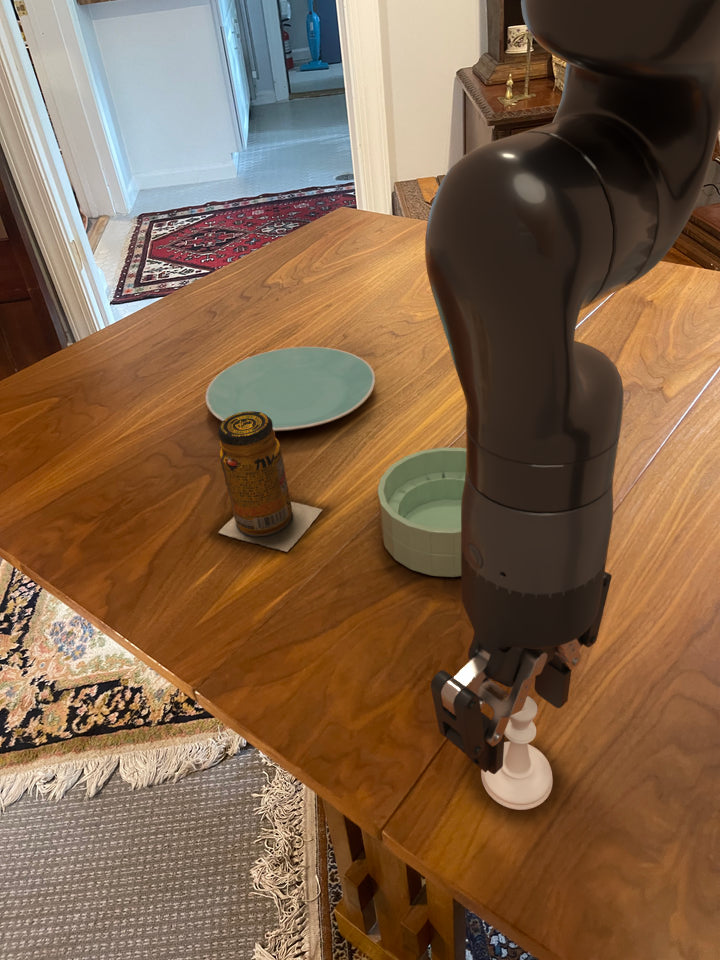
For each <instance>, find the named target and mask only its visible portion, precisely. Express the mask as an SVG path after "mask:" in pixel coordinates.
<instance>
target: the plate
mask: <svg viewBox="0 0 720 960" xmlns="http://www.w3.org/2000/svg"><path fill="white" fill-rule="evenodd" d="M375 386H376V373H375V371H374V369H373V367H372V366H371V365H370V364H369V363H368V362H367V361H366V360H364V359H363V358H361V356H358V355H356V354H353V353H350V352H348V351H344V350H341V349H336V348H332V347H323V346H293V347H284V348H279V349H273V350H269V351H265V352H261V353H258V354H255V355H252V356H249V357H246V358H244V359H242V360H240V361H238V362H236V363H233V364H232V365H230V366H228V367H226V368H225V369H223V370H222V371H221V372H219V373H217V375H216V376H215V377H214V378H212V380H211V382H210V383H209V384H208V386H207V388H206V391H205V396H204V397H205V398H204V399H205V403H206V406H207V409H208V410H209V412H210V413H211V414H212V415H213V416H214V417H215V418H216V419H217V420H219V421H220V422H221V423H222V422H223V421H224V420H225V419H226V418H228V417H230V416H232V415H234V414H237V413H240V412H246V411H255V412H261V413H263V414H266V415H267V416H268V417H269V418H270V419H271V420H272V424H273V430H274V432H284V431H297V430H303V429H308V428H313V427H316V426H321V425H325V424H327V423H331V422H333V421H336V420H338V419H341V418H343V417H346V416H347V415H349V414H351V413H352V412H354V411H355V410H356V409H358V408H359V407H361V406H362V405H363V404H364V403H365V402H366V401H367V399H368V398H369V397H370V396H371V394H372V392H373V390H374V388H375Z"/></svg>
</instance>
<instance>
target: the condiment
mask: <svg viewBox="0 0 720 960" xmlns="http://www.w3.org/2000/svg"><path fill="white" fill-rule="evenodd" d="M217 434H218V438H219V445H220V447H221V448H220V451H219V459H220V465H221V469H222V472H223V475H224V476H223V477H224V482H225V486H226V491H227V493H228V497H229V502H230V506H231V509H232V514H233V517H232V518H231V519H230V520H229V521H228V522H226V523H225V525H223V526H222V528H221V529H219V531H218V532H217V533H218V534H221V535H223V536H227V537H229V538H233V539H237V540H239V541H245V542H247V543H252V544H258V545H260V546H263V547H267V548H270V549H273V550H279V551H283V552H286V553H288V552H289V550H290V549H291V548H293V546H294V545H295V544H296V543H297V542H298V540H299V539H301V537H302V536H303V535H304V534H305V533H306V531H307V530H308V529H309V528H310V526H311V525H312V524H313V523H314V521H315V520H316V519H317V518H318V516H319V515H320V514H321V512H322V511H323V509H322V508H318V507H315V506H311V505H308V504H303V503H300V502H294V501H291V496H290V491H289V487H288V485H289V484H288V481H287V475H286V469H285V463H284V458H283V453H282V452H283V451H282V448H281V443H280V442H279V440H278V438H276V431H274V430H273V424H272V420H271V419H270V418H269V417H268V416H267V415H266V414H263V413H261V412H255V411H246V412H240V413H237V414H234V415H232V416H230V417H228V418H226V419H225V420H224V421H223V422H222V421H221V422H220V424H219V427H218V432H217Z"/></svg>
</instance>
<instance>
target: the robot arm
mask: <svg viewBox="0 0 720 960" xmlns="http://www.w3.org/2000/svg"><path fill="white" fill-rule="evenodd" d="M520 5H521V14H522V18H523V22H524V23H525V26H526V28H527V31H528V33H529V34H530V35H531V36H532V38H533V39H534V41H535V42H536V43H537V44H538V45H539V46H540V47H541V48H542V49H544V50H545V51H546V52H548V53H549V54H551V55H552V56H554V57H555V58H556V59H558V60H560V61H563V62H564V63H566V64H565V71H564V81H563V87H562V92H561V93H562V95H561V99H560V101H559V105H558V108H557V110H556V113H555V116H554V118H553V120H552V122H551V123H546V124H544V125H541V126H537V127H534V128H531V129H528V130H526V131H522V132H518V133H516V134H512V135H509V136H505V137H502V138H499V139H497V140H496V139H495V140H493V141H490V142H487V143H485V144H482V145H479V146H478V147H476V148H474V149H472V150H471V151H469V152H468V153H466V154H464V155H463V156H462V157H461V158H459V159H458V160H457V161H456V162H455V163H454V164H453V166H452V167H450V168H449V170H448V171H447V172H446V174H445V175H444V177H443V179H442V181H441V182H440V185H439V186H438V188H437V190H436V192H435V196H434V198H433V201H432V203H431V206H430V211H429V215H428V218H427V222H426V231H425V238H424V258H425V267H426V275H427V279H428V282H429V286H430V291H431V293H432V296H433V301H434V303H435V305H436V309H437V312H438V315H439V318H440V322H441V324H442V325H441V326H442V328H443V330H444V335H445V337H446V340H447V343H448V347H449V350H450V354H451V358H452V361H453V366H454V368H455V371H456V374H457V377H458V380H459V383H460V386H461V390H462V392H463V395H464V401H465V405H466V407H465V408H466V411H465V448H466V474H465V482H464V487H463V493H462V500H461V576H460V589H461V590H460V593H461V594H460V595H461V601H462V605H463V608H464V610H465V613H466V615H467V617H468V620H469V621H470V624H471V626H472V629H473V636H472V641H471V643H470V645H469V649H468V655H467V657H468V662H467V663H466V664H465V665H464V666H463V667H461V669H460V670H459V671H458V672H457V673H456V674H455V675H454V676H452V675H451V674H450V673H448V672H447V671H446V670H445V669H442V670H439V671H437V673H436V674H435V675H434V677H433V678H432V680H431V681H430V690H431V694H432V695H431V696H432V701H433V707H434V709H435V716H436V721H437V726H438V731H439V733H440V734H441V735H442V736H443V737H444V738H446V740H448V741H449V742H450V743H451V744H453V745H454V746H455V747H456V748H457V749H459V750H460V751H461V752H462V753H463V754H465V756H466V757H467V759H469V761H471V762H472V763H473V764H475V766H477V768H479V769H482V770H483V771H484V772H485V773H486V772H487V771H489V772H490V773H492V774H496V773H497V772H498V771H499V770H500V769H501V768H502V767H503V755H504V742H505V737H506V736H505V734H504V732H505V729H506V727H507V724H508V722H509V719H510V716H512V715H514V714H516V713H518V712H520V711H521V710H522V708H523V706H524V703H525V701H526V698H527V696H529V692H530V691H531V688H532V686H533V682H534V691H535V693H536V694H537V696H539V697H540V698H541V699H543V700H545V701H546V702H547V703H549V704H550V705H552V706H553V707H555V708H556V709H562V707H564V705H566V703H567V702H568V699H569V692H570V687H571V677H572V670H574V669H575V668H576V667H577V666H578V665H579V664H580V661H581V657H582V654H581V652H580V650H581V648H582V646H584V647H586V648H588V649H589V648H591V647H592V646H593V645H594V644H595V643H596V642H597V640H598V636H599V631H600V628H601V623H602V619H603V615H604V610H605V606H606V602H607V598H608V594H609V589H610V585H611V581H612V574H611V573H609V572H608V571H606V565H607V559H608V552H609V548H610V547H609V546H610V540H611V535H612V534H611V533H612V528H613V520H614V477H615V471H616V470H615V469H616V463H617V457H618V450H619V444H620V437H621V431H622V423H623V415H624V414H623V413H624V401H625V400H624V399H625V395H624V393H625V392H624V384H623V379H622V376H621V374H620V371H619V369H618V367H617V365H616V364H615V363H614V362H613V361H612V359H611V358H610V357H609V356H608V355H607V354H606V353H604V351H603V352H602V351H601V350H599V349H597V348H595V347H594V346H591V345H589V344H588V343H587V344H586V343H585V342H581V341H577V340H575V336H576V329H577V323H578V319H579V315H580V312H581V311H583V310H584V309H586V308H589V307H590V306H592V305H594V304H595V303H597V302H599V301H601V300H603V299H605V298H606V297H608V296H610V295H612V294H614V293H617V292H618V291H620V290H623V289H624V288H626V287H628V286H630V285H632V284H634V283H635V282H637V281H638V280H641V279H642V278H643V277H645V276H646V275H647V274H648V273H650V271H652V270H653V269H654V268H656V266H657V265H658V264H659V263H660V262H661V261H662V260H663V258H664V257H665V256H666V255H667V254H668V252H670V250H671V248H673V245H674V244H675V243H676V241H677V239H678V238H679V237H680V235H681V233H682V231H683V230H684V228H685V227H686V225H687V223H688V221H689V220H690V218H691V216H692V213H693V212H694V209H695V208H696V205H697V203H698V201H699V199H700V196H701V194H702V191H703V189H704V187H705V186H704V185H705V183H706V179H707V176H708V173H709V170H710V166H711V163H712V159H713V155H714V151H715V148H716V144H717V141H718V137H719V132H720V0H520ZM495 682H497V683H499V684H501V685H502V686H505V687H507V688H511V690H510V692H507V690H505V689H504V688H502V686H499V685H498V684H497V683H495ZM485 705H488V706H489V707H490V708H491V709H492V710H493V716H492V718H491V717H489V716H488V715H486V714H485V713H484V712H482V709H484V707H485Z"/></svg>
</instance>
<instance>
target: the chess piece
mask: <svg viewBox="0 0 720 960" xmlns="http://www.w3.org/2000/svg"><path fill="white" fill-rule="evenodd" d="M537 714H538V705H537V702H536V701H535V700H534V699H533V698H532V697H530V696H529V695H528V696H527V698H526V701H525V703H524V706H523V708H522V710H521V711H520V712H518V713H516V714H514V715H512V716H510V719H509V722H508V724H507V727H506V729H505V732H504V735H505V736H504V737H506V739H507V740H509V741H504V755H503V767H502V768H501V769H500V770H499V771H498V772H497V773H496V774H492V773H490V772H489V771H487V772H486V773H485V772H484V771H483V770H482V769H481V768H480V769H481V770H480V776H481V783H482V785H483V787H484V789H485V791H486V792H487V794H488V795H489V797H490V798H492V799H493V801H495V802H496V803H497V804H500V805H501V806H503V807H506V808H508V809H511V810H520V811H524V810H530V809H533V808H536V807H538V806H540V805H541V804H543V803H544V802H545V801H546V800H547V799H548V797H549V796H550V794H551V791H552V789H553V784H554V781H553V779H554V778H553V772H552V767H551V765H550V763H549V760H548V759H547V757H546V756H545V755H544V753H542V752H541V751H540V750H539V749H538V748H536V747H534V746H533V745H531V744H529V743H531V742H532V741H533V740H534V739H535V738H536V736H537V727H536V725H535V722H534V721H533V720H534V719H535V718H536V716H537Z"/></svg>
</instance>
